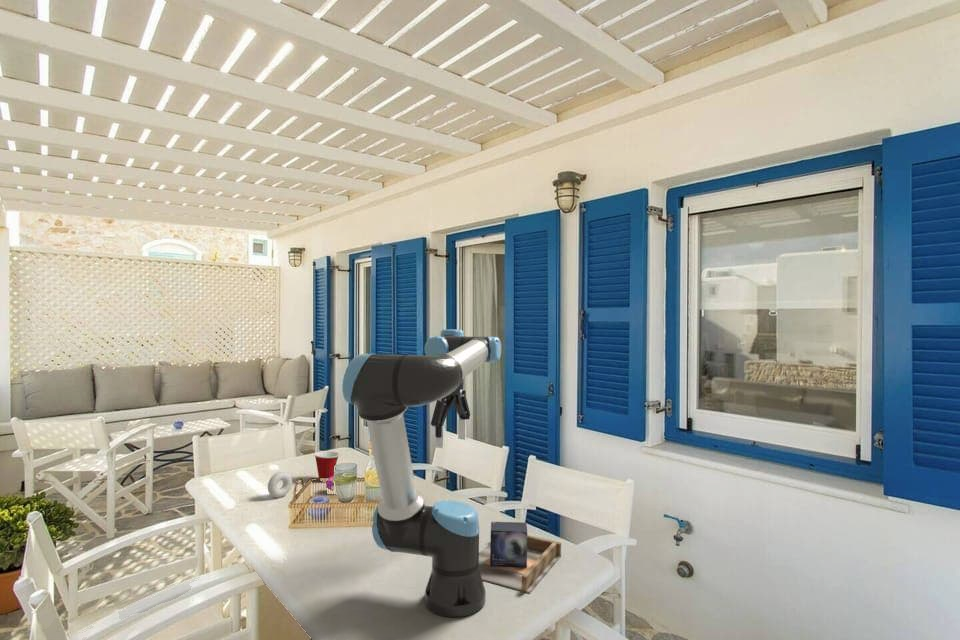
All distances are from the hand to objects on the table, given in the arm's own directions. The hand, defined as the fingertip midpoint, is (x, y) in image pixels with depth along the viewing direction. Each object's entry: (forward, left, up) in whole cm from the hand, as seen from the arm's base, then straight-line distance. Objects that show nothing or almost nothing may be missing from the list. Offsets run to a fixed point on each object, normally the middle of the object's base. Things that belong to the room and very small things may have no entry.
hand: (451, 443), depth 161 cm
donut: (0, +80, -31) cm, 86 cm away
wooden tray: (-6, -24, -31) cm, 39 cm away
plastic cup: (+25, +80, -31) cm, 89 cm away
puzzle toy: (+15, +65, -31) cm, 74 cm away
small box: (-6, -23, -30) cm, 39 cm away
